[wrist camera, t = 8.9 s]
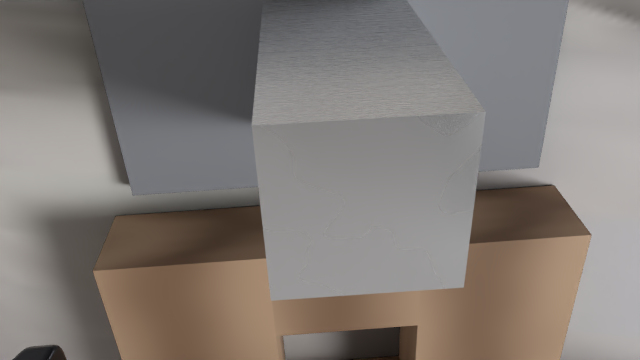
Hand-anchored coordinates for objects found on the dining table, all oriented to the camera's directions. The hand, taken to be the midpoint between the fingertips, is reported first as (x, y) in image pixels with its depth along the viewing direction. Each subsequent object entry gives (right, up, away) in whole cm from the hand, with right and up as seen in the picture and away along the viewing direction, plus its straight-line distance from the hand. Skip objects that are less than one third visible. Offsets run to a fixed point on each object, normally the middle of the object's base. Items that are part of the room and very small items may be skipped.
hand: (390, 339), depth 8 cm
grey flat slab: (-1, +6, +10) cm, 12 cm away
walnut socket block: (0, -4, +16) cm, 17 cm away
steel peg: (-1, +6, +10) cm, 11 cm away
